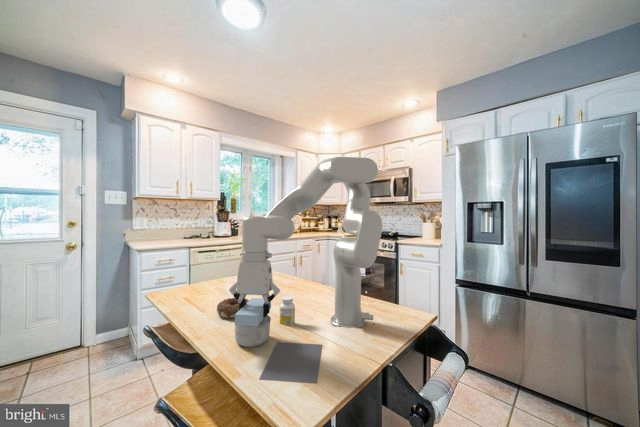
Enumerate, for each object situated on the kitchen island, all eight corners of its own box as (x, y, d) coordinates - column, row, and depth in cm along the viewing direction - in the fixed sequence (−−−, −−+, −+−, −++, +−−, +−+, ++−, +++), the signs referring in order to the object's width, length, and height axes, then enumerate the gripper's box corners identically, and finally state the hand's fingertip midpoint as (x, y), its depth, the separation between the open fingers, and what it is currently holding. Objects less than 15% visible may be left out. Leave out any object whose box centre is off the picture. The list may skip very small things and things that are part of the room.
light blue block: (270, 307, 88) (270, 298, 87) (257, 326, 74) (257, 315, 74) (251, 306, 88) (251, 297, 88) (234, 325, 74) (234, 314, 74)
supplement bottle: (287, 320, 100) (287, 294, 100) (297, 324, 97) (297, 297, 97) (276, 324, 96) (276, 298, 96) (286, 329, 93) (287, 301, 92)
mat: (322, 347, 80) (322, 344, 80) (316, 387, 62) (316, 383, 62) (277, 345, 81) (277, 342, 81) (258, 383, 63) (258, 379, 63)
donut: (208, 316, 103) (208, 303, 103) (233, 305, 115) (234, 293, 115) (236, 323, 97) (236, 310, 97) (260, 311, 109) (260, 299, 109)
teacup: (232, 339, 85) (232, 314, 85) (266, 332, 90) (266, 309, 89) (238, 361, 72) (239, 332, 72) (277, 353, 77) (277, 326, 77)
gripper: (285, 255, 84) (284, 311, 84) (232, 253, 85) (232, 309, 85) (280, 259, 76) (279, 321, 76) (222, 258, 78) (221, 318, 78)
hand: (254, 314), depth 81 cm, fingers closed on light blue block, 6 cm apart
